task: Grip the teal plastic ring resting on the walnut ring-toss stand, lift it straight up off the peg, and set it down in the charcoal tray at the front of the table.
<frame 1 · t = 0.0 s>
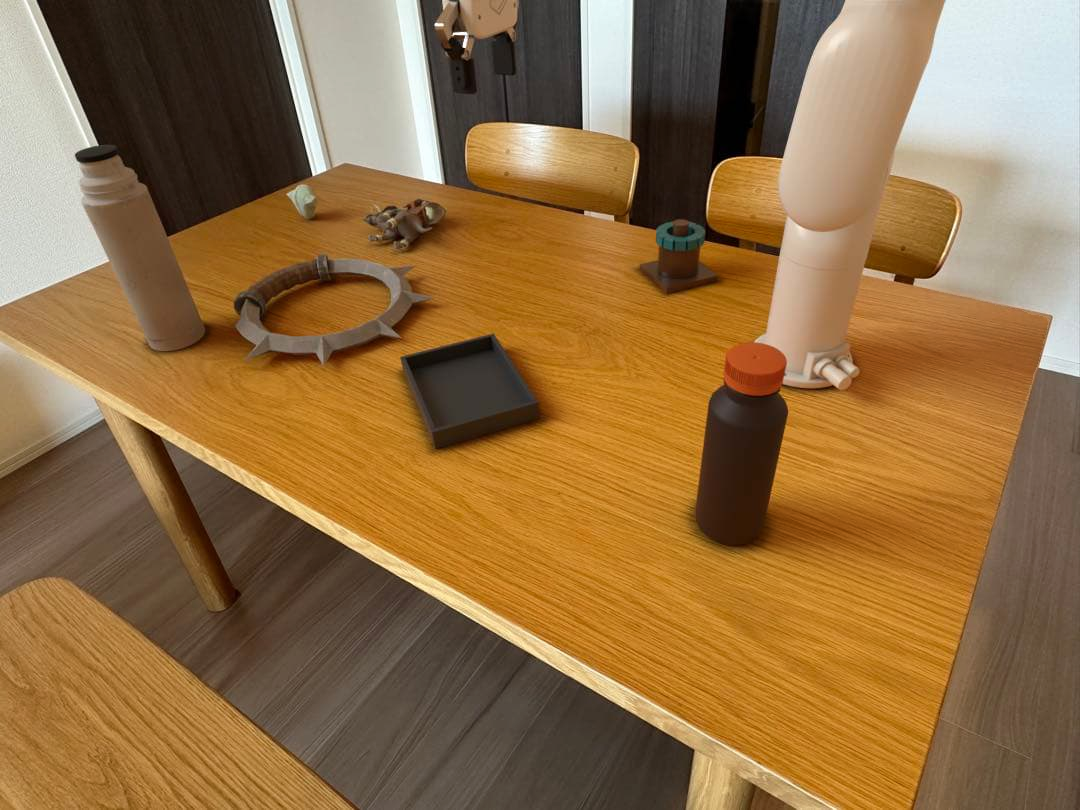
hand: (486, 83, 90), 31 cm above the table, tool pointing down, fingers open, 9 cm apart
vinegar: (728, 522, 70), on the table
spiked ring: (335, 318, 107), on the table
tray: (468, 394, 89), on the table
thermos bottle: (178, 338, 105), on the table
ring: (680, 235, 107), point 7 cm above the table, touching ring stand
pale green irregular chunk: (310, 219, 139), on the table
figurine: (411, 232, 131), on the table
ring stand: (677, 275, 111), on the table
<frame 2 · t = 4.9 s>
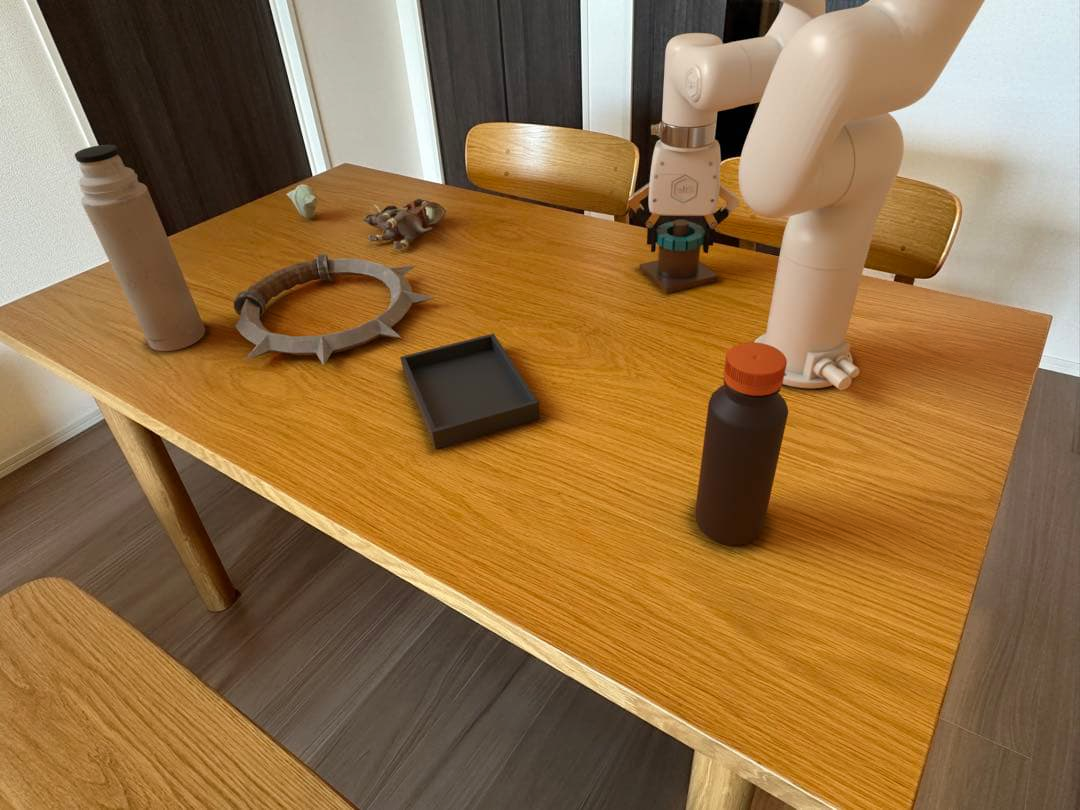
hand: (679, 248, 109), 5 cm above the table, tool pointing down, fingers closed on ring, 7 cm apart
ring: (680, 235, 107), point 7 cm above the table, touching gripper, ring stand
everything else where it was.
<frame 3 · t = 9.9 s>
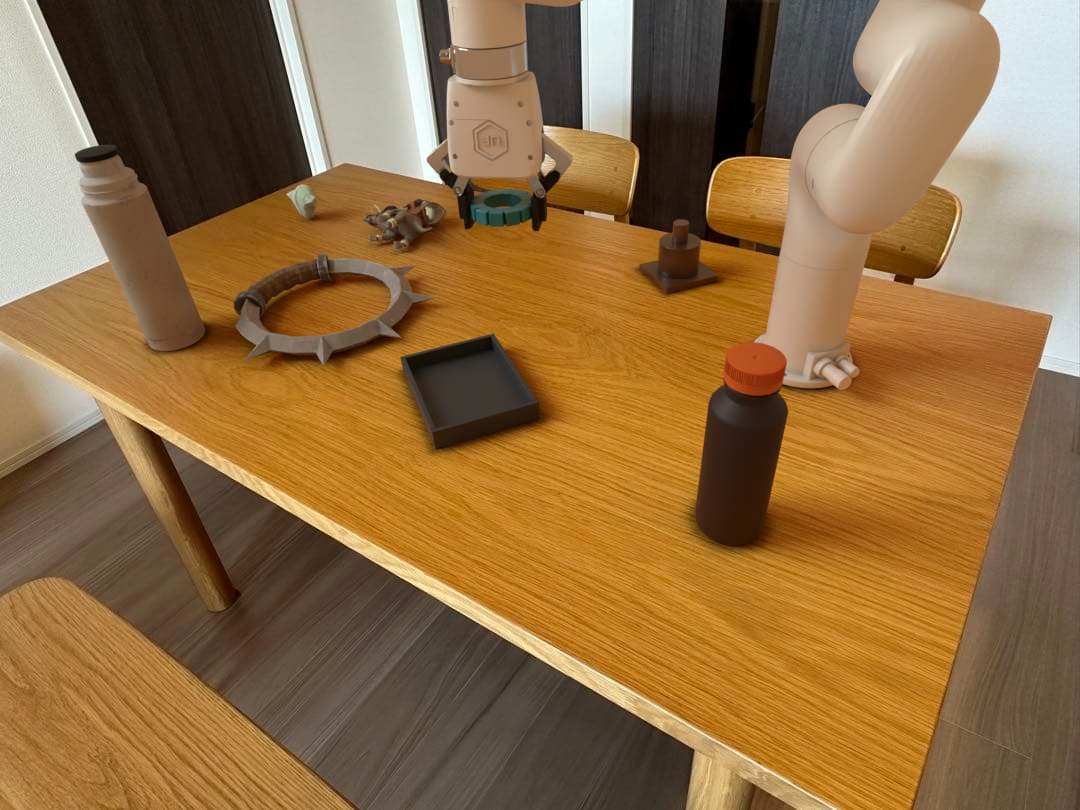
hand: (504, 224, 81), 20 cm above the table, tool pointing down, fingers closed on ring, 7 cm apart
ring: (502, 207, 80), point 22 cm above the table, touching gripper
everything else where it was.
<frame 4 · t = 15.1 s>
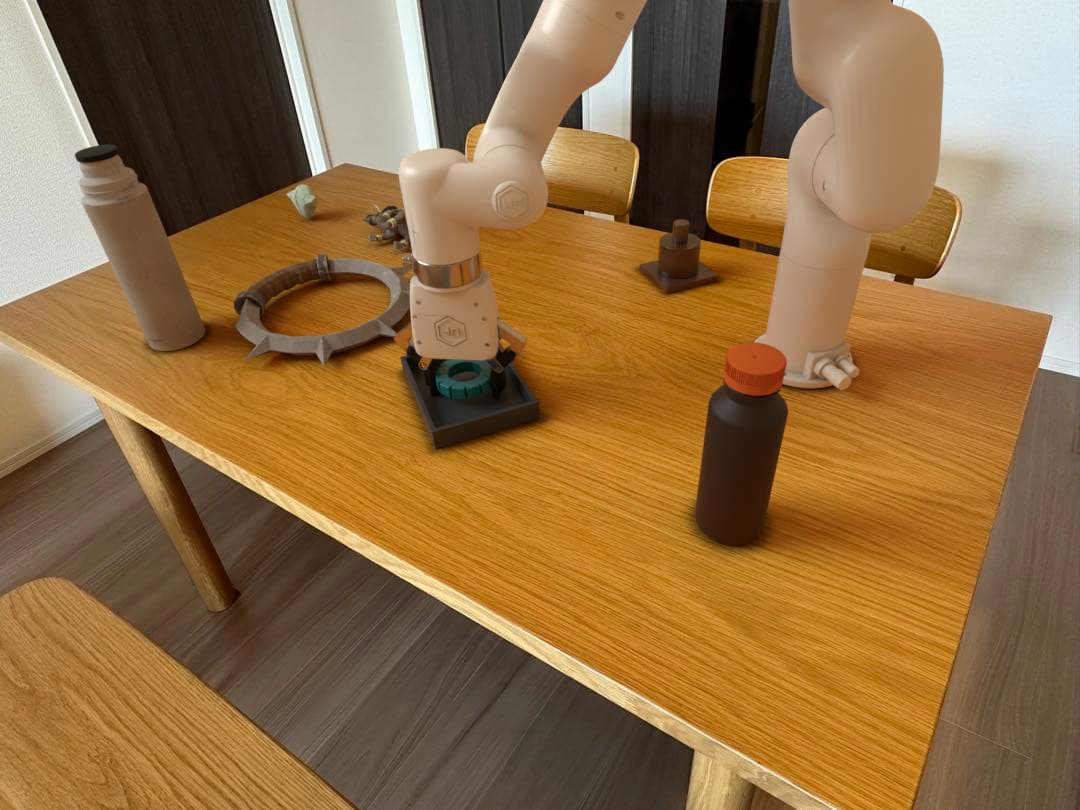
hand: (467, 390, 89), 1 cm above the table, tool pointing down, fingers closed on ring, 7 cm apart
ring: (465, 376, 88), point 3 cm above the table, touching gripper
everything else where it was.
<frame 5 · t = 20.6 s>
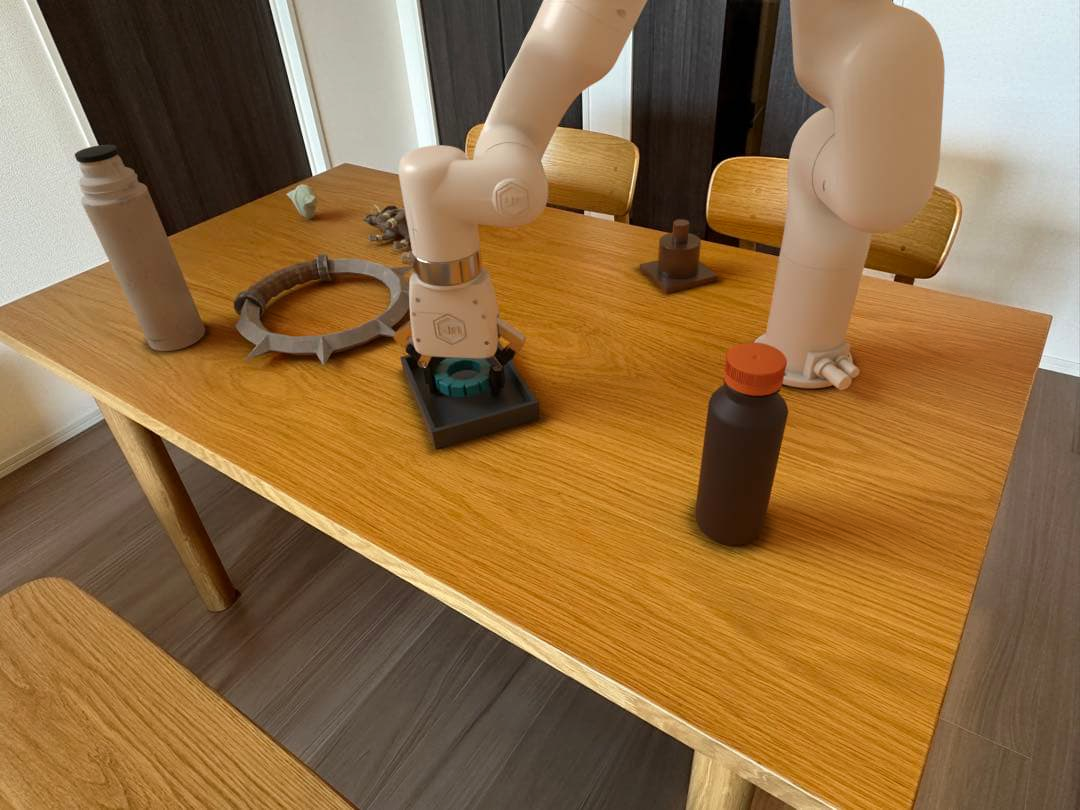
hand: (466, 388, 89), 1 cm above the table, tool pointing down, fingers closed on ring, 7 cm apart
ring: (464, 374, 87), point 3 cm above the table, touching gripper
everything else where it was.
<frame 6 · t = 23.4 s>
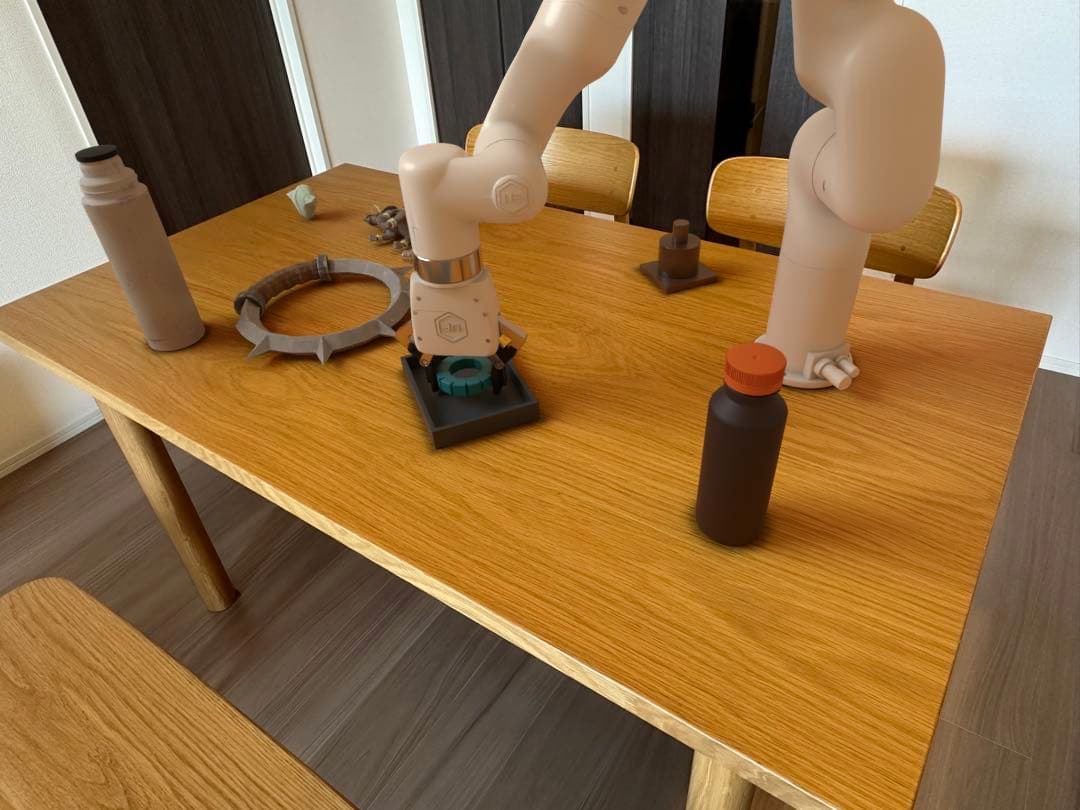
hand: (468, 386, 89), 1 cm above the table, tool pointing down, fingers closed on ring, 7 cm apart
ring: (466, 373, 87), point 3 cm above the table, touching gripper
everything else where it was.
when the fingers open (2 cm above the table, at t = 25.9 s): ring drops 2 cm, resting on tray.
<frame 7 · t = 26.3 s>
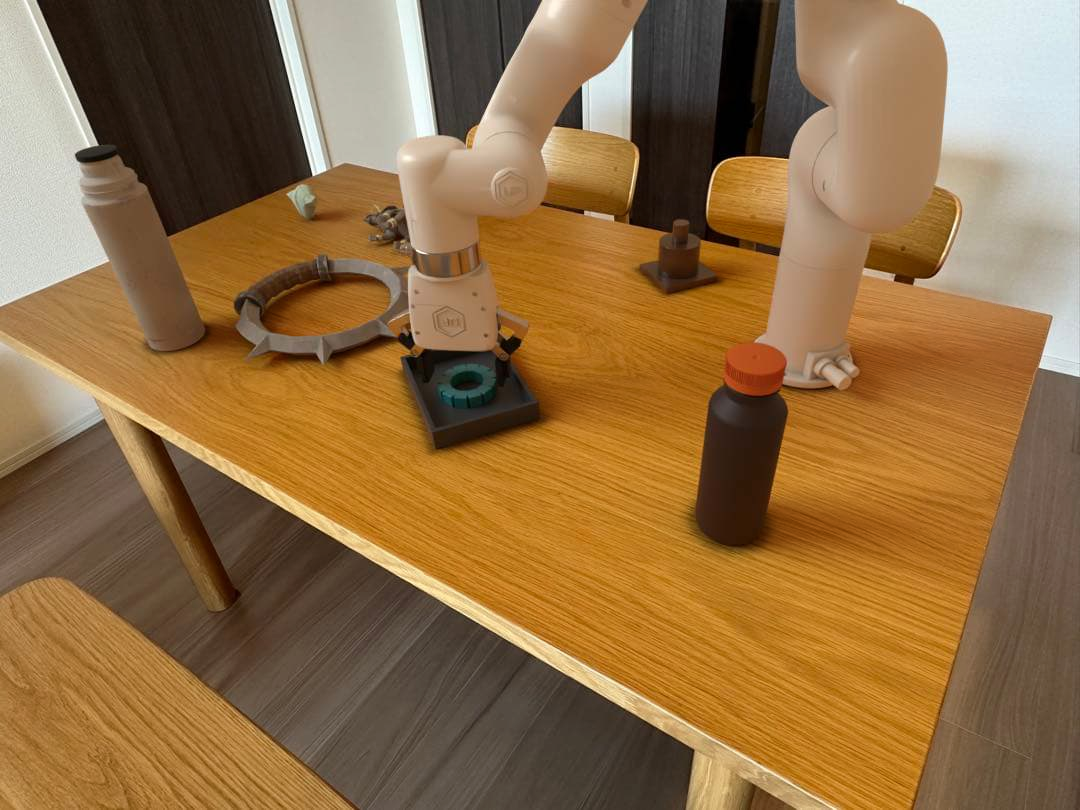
hand: (465, 378, 88), 3 cm above the table, tool pointing down, fingers open, 9 cm apart
ring: (467, 385, 89), point 1 cm above the table, touching tray
everything else where it was.
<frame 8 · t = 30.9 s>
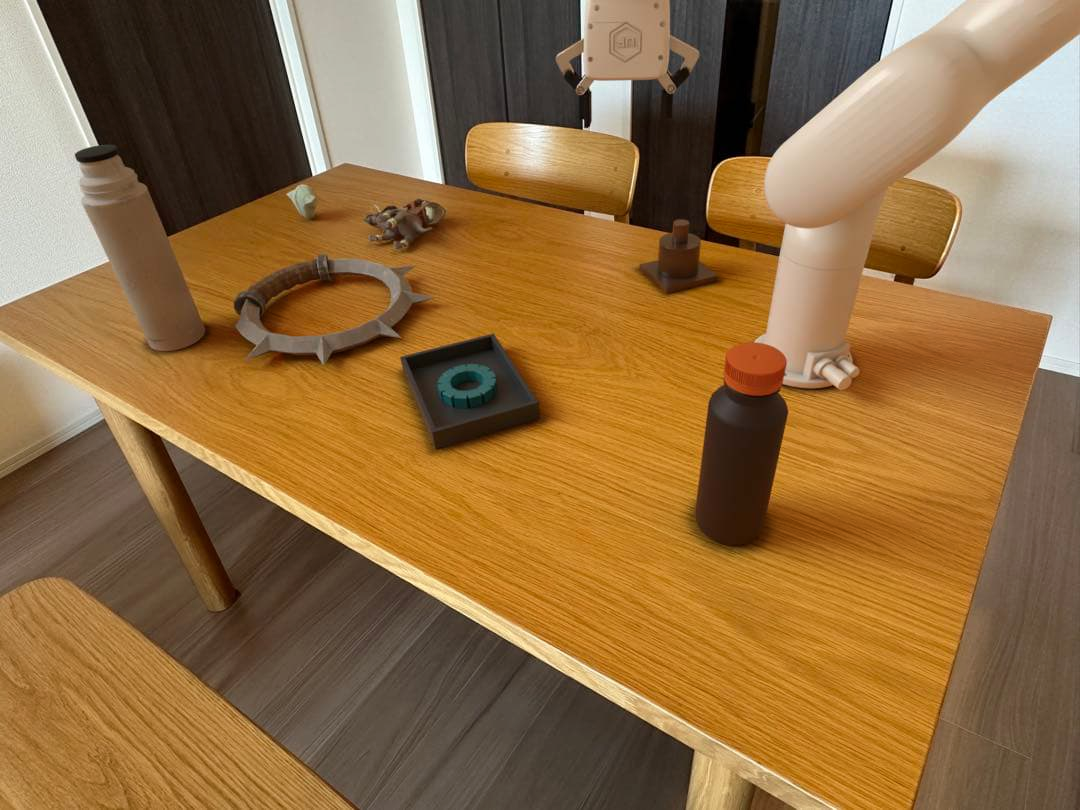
hand: (625, 124, 89), 26 cm above the table, tool pointing down, fingers open, 9 cm apart
nothing on the table moved.
at the end: ring inside the target area in the tray (0.1 cm from its centre), point 1.4 cm above the tray's base; ring touching tray; ring tilted 0° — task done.
